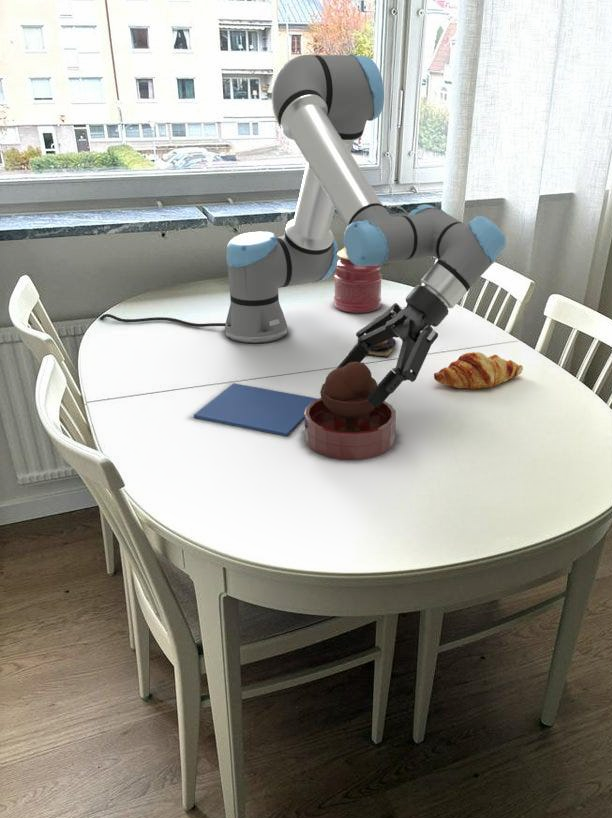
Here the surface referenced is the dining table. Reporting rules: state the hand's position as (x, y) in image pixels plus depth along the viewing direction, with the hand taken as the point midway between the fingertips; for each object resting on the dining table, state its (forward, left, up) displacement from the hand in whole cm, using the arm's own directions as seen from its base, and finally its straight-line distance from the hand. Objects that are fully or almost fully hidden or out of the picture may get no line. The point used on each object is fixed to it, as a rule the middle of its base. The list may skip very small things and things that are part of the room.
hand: (355, 388), depth 131 cm
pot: (-1, -1, -10) cm, 10 cm away
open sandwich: (-11, +43, -10) cm, 46 cm away
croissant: (+16, +33, -10) cm, 38 cm away
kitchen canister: (-26, +70, -10) cm, 76 cm away
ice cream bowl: (-1, -1, -10) cm, 10 cm away
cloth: (-22, +3, -10) cm, 24 cm away
